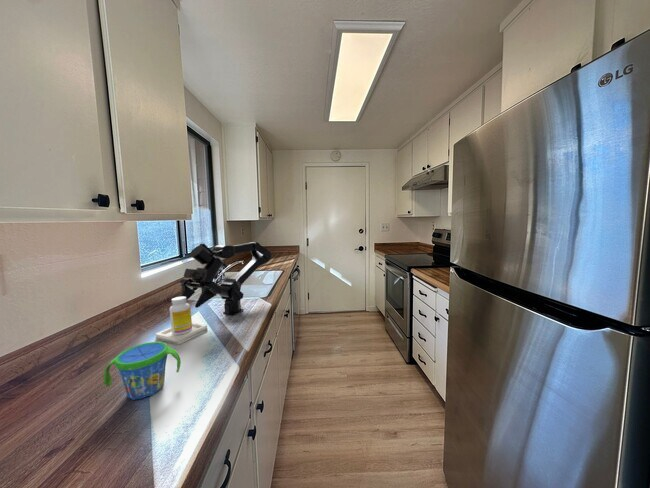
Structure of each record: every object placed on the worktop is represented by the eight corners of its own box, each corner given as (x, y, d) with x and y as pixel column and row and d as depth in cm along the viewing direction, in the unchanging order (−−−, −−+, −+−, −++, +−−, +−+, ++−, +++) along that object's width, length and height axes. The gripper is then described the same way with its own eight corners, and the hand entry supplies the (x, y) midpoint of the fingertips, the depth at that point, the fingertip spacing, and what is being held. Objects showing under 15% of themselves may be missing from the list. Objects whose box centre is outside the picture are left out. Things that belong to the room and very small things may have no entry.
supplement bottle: (195, 330, 94) (192, 297, 92) (177, 337, 88) (173, 302, 87) (187, 326, 98) (184, 294, 96) (168, 333, 92) (165, 299, 91)
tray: (186, 325, 101) (186, 320, 101) (207, 330, 96) (207, 325, 95) (156, 339, 90) (155, 333, 90) (177, 345, 85) (176, 339, 85)
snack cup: (187, 372, 69) (184, 337, 68) (173, 398, 59) (169, 357, 58) (122, 382, 66) (117, 346, 65) (96, 412, 56) (89, 369, 54)
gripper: (181, 258, 102) (156, 293, 93) (212, 260, 93) (187, 298, 85) (200, 273, 110) (179, 306, 101) (231, 276, 101) (210, 312, 93)
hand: (188, 305), depth 95 cm, fingers open, 9 cm apart
